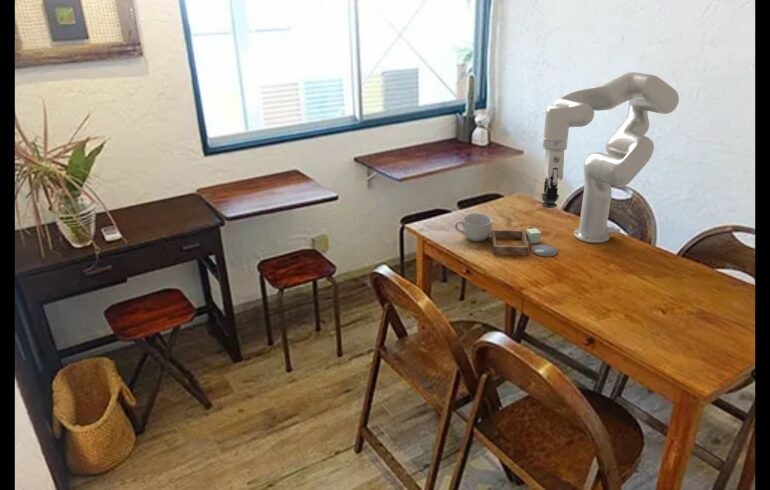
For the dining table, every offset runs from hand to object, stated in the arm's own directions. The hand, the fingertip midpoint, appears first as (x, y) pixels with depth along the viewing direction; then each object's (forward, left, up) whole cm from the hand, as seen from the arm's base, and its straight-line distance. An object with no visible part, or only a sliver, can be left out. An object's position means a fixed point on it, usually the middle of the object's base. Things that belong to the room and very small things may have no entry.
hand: (550, 195), depth 194 cm
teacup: (+25, -10, -21) cm, 34 cm away
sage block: (+3, -9, -21) cm, 23 cm away
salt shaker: (0, 0, -4) cm, 4 cm away
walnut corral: (+12, -4, -21) cm, 25 cm away
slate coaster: (0, 0, -21) cm, 21 cm away
